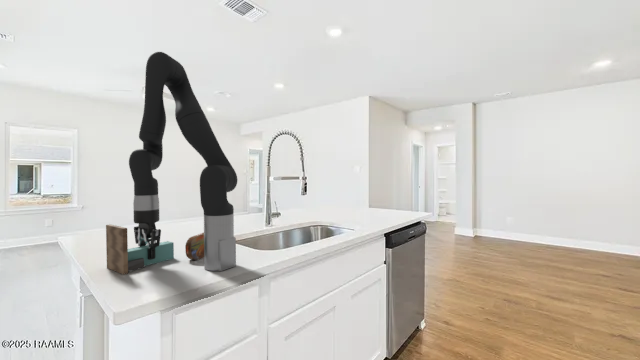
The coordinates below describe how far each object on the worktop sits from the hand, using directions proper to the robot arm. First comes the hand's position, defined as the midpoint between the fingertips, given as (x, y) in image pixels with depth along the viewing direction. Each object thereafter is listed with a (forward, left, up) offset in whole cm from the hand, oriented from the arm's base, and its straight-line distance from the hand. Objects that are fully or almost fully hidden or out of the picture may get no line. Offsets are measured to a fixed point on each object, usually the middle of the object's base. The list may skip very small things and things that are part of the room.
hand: (147, 257), depth 98 cm
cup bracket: (0, +7, -2) cm, 7 cm away
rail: (0, 0, -2) cm, 2 cm away
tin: (-8, -15, -2) cm, 17 cm away
